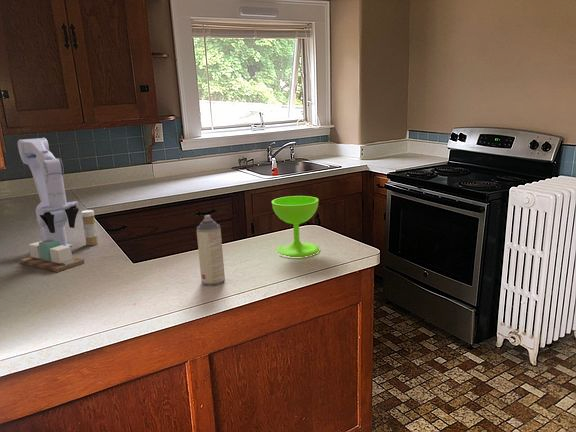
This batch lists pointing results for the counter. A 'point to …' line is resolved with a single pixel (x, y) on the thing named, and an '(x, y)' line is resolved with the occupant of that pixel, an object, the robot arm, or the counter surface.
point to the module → (47, 248)
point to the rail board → (50, 264)
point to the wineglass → (296, 222)
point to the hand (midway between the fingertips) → (62, 230)
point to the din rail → (57, 263)
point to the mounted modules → (52, 252)
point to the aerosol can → (210, 252)
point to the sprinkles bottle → (89, 227)
